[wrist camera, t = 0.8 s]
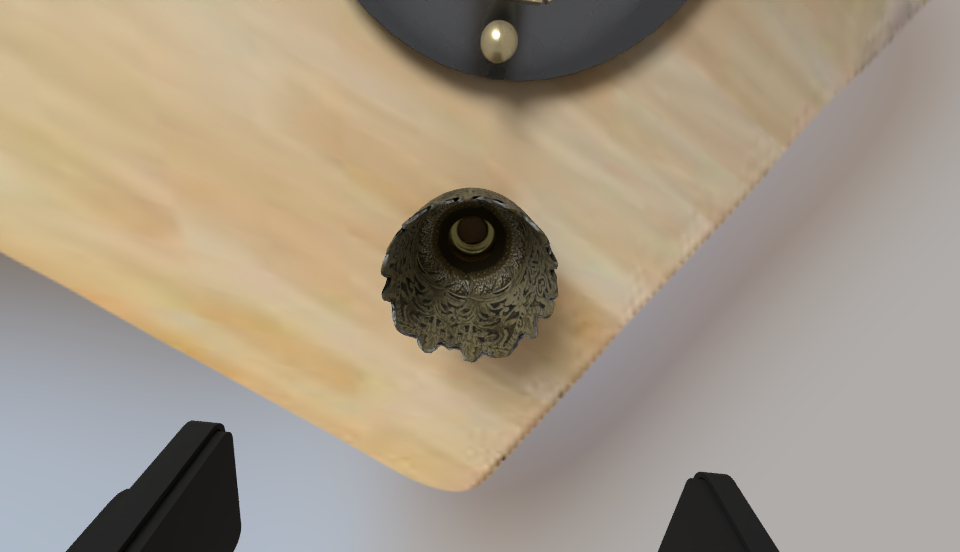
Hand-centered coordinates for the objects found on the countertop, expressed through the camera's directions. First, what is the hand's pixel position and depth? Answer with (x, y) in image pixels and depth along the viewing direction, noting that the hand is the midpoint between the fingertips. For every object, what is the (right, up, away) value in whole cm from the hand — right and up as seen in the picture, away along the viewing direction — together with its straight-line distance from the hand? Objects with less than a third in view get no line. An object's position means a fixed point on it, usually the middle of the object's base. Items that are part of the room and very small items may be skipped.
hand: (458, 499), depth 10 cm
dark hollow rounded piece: (0, +7, +17) cm, 19 cm away
